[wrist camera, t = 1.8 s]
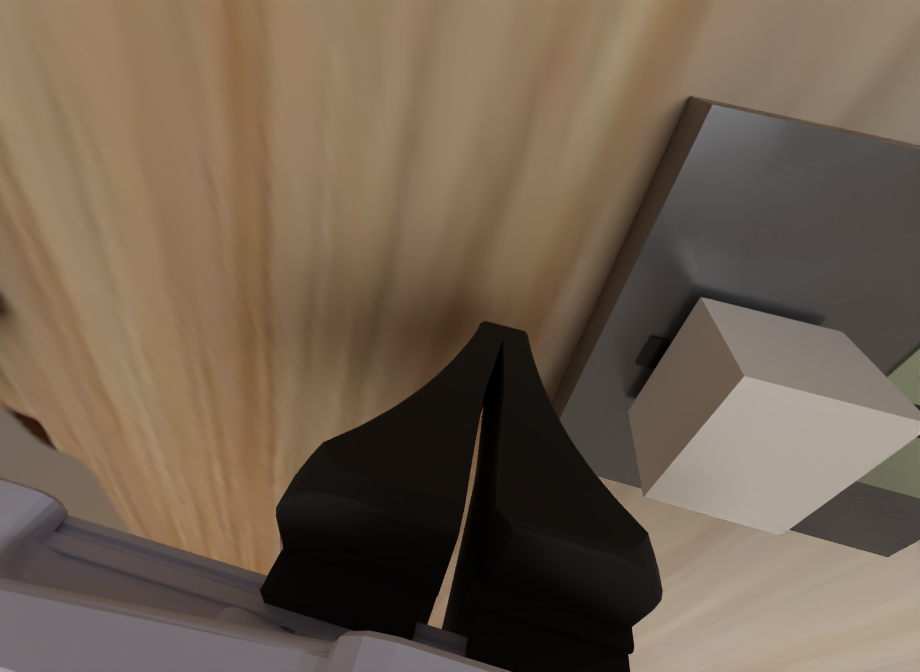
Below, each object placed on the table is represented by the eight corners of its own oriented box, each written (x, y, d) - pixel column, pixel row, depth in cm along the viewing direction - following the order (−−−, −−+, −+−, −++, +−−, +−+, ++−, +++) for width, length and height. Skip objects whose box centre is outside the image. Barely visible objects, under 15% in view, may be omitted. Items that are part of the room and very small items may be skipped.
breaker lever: (842, 331, 11) (933, 424, 9) (738, 440, 14) (780, 535, 12) (700, 296, 12) (744, 376, 9) (628, 411, 15) (643, 497, 12)
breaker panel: (1294, 226, 10) (1442, 263, 8) (859, 513, 18) (888, 559, 17) (690, 96, 11) (713, 105, 9) (541, 426, 19) (539, 461, 18)
